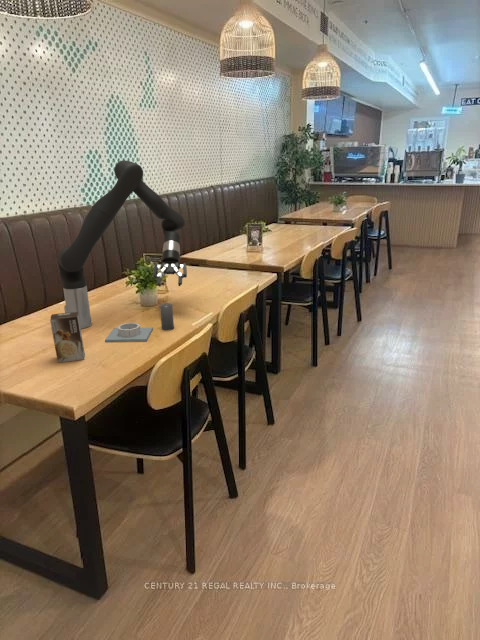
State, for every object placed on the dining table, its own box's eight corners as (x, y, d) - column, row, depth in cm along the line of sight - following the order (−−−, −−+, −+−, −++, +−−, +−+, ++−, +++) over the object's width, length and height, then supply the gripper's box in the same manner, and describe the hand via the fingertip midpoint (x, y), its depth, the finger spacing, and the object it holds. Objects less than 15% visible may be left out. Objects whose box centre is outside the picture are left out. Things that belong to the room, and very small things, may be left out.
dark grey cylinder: (160, 330, 189) (158, 307, 186) (162, 326, 194) (160, 303, 190) (173, 330, 189) (171, 306, 186) (174, 326, 194) (173, 303, 190)
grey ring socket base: (105, 342, 178) (103, 332, 176) (114, 330, 190) (112, 321, 189) (146, 341, 178) (145, 331, 176) (152, 329, 190) (151, 320, 189)
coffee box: (85, 353, 168) (79, 311, 163) (84, 359, 162) (78, 316, 157) (58, 356, 166) (51, 313, 161) (56, 363, 160) (49, 319, 155)
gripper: (153, 249, 200) (150, 281, 193) (186, 248, 200) (184, 280, 193) (156, 258, 207) (154, 290, 200) (188, 257, 207) (187, 289, 200)
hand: (169, 285), depth 197 cm, fingers open, 8 cm apart
